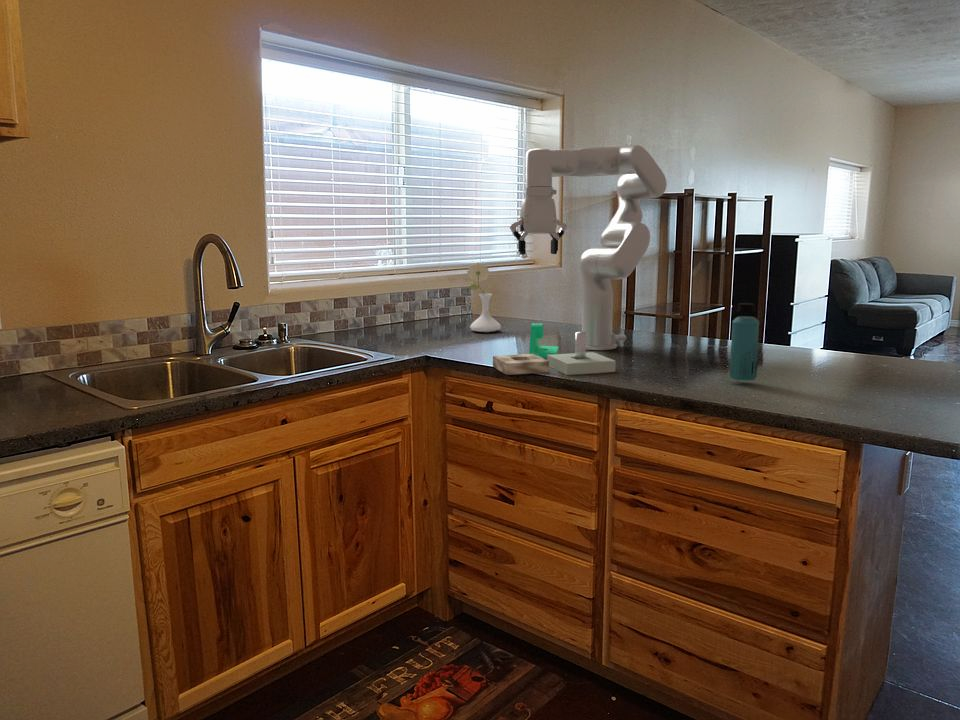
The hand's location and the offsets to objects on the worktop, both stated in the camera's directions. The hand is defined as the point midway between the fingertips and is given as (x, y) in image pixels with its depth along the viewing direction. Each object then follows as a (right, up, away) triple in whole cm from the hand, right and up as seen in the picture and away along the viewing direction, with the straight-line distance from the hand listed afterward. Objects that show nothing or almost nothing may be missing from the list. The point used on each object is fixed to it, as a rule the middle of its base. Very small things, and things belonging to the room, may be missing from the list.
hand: (538, 254), depth 216 cm
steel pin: (+11, -33, -12) cm, 37 cm away
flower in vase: (-16, -20, +57) cm, 63 cm away
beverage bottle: (+48, -37, -32) cm, 68 cm away
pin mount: (-6, -33, -13) cm, 36 cm away
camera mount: (+2, -30, +5) cm, 31 cm away
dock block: (+11, -33, -12) cm, 37 cm away
